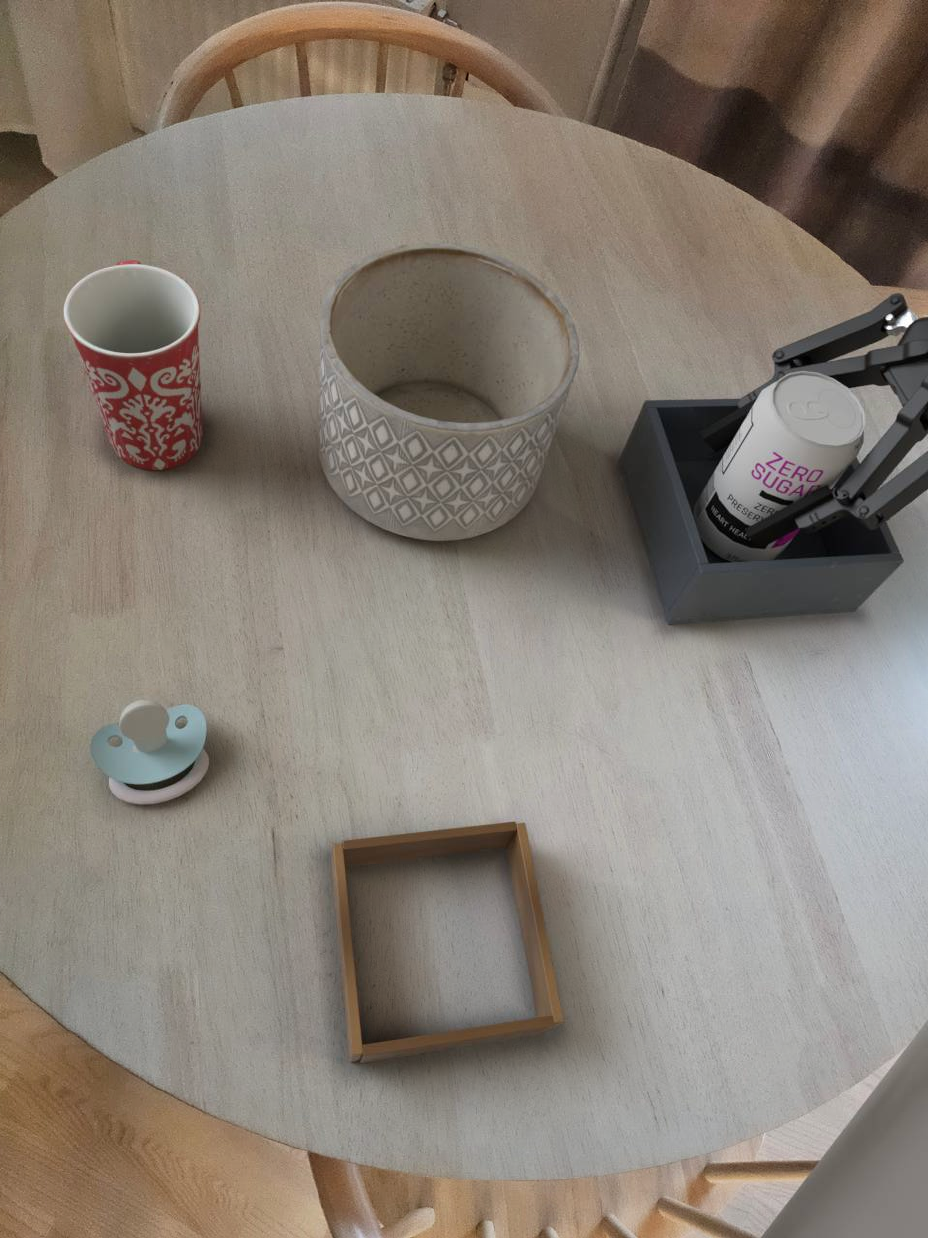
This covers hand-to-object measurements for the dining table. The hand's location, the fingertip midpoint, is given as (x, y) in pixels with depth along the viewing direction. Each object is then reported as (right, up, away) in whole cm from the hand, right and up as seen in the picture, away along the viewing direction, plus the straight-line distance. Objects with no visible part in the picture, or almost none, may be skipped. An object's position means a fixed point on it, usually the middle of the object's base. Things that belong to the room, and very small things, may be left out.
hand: (729, 489), depth 74 cm
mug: (-46, +6, +4) cm, 47 cm away
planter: (-24, +3, +6) cm, 25 cm away
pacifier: (-41, -20, -10) cm, 47 cm away
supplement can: (+2, -3, +6) cm, 7 cm away
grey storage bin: (+2, -3, +7) cm, 7 cm away
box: (-23, -31, -14) cm, 41 cm away
